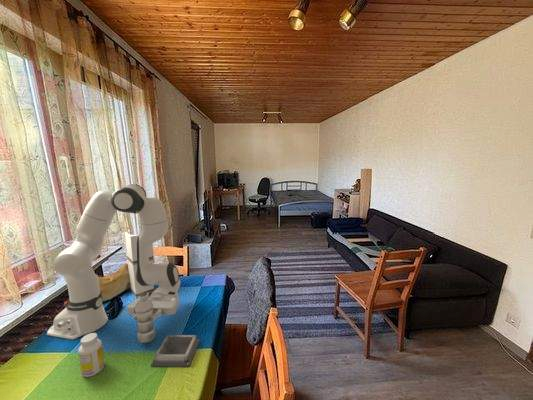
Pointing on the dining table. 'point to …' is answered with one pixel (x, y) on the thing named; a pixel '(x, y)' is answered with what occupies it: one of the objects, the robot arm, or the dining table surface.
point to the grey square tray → (176, 351)
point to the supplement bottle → (91, 355)
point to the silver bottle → (144, 318)
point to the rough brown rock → (114, 283)
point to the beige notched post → (132, 265)
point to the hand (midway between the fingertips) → (143, 318)
